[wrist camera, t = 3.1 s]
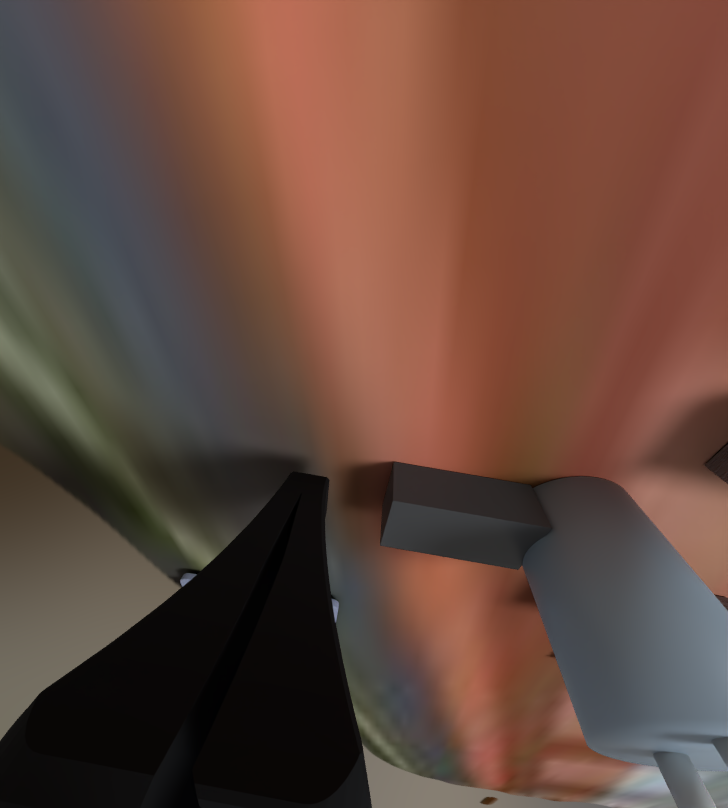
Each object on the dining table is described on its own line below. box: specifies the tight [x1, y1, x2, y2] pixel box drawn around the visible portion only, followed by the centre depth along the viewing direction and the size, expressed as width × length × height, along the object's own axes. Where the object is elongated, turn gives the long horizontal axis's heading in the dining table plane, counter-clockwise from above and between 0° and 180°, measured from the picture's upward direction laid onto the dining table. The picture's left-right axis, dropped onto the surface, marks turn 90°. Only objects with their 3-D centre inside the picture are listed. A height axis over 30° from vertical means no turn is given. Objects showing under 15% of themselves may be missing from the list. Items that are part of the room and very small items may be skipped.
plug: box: [380, 462, 728, 808], centre depth 8 cm, size 9×4×7 cm, turn 82°
